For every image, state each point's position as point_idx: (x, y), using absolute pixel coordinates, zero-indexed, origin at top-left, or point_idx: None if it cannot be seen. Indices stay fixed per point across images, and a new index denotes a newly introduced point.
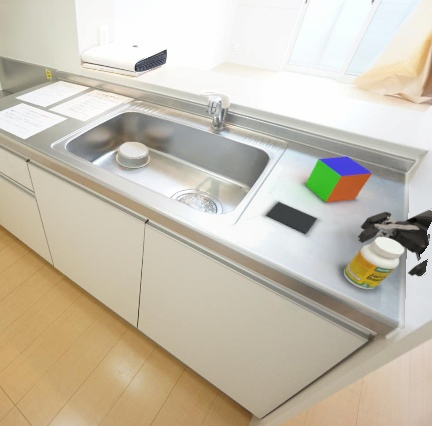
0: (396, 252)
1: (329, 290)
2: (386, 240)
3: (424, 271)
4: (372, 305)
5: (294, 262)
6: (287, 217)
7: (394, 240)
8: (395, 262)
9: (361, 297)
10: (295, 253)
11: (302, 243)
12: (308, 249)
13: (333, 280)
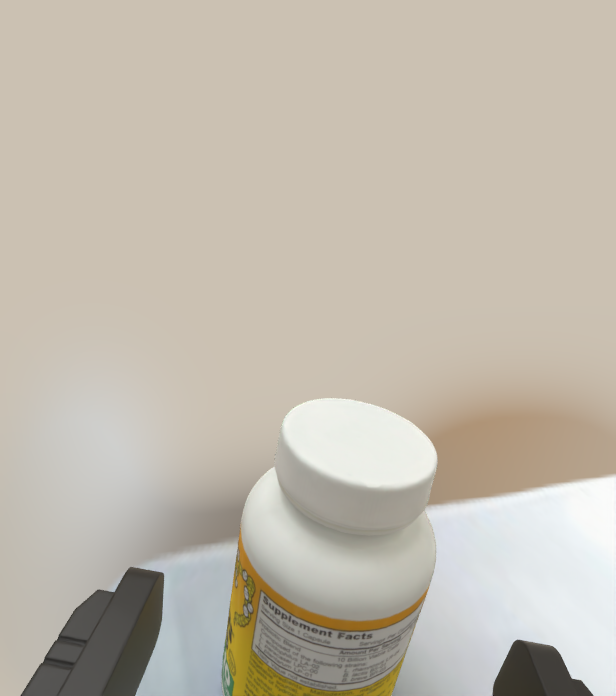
0: (303, 409)
1: None
2: (396, 458)
3: (93, 594)
4: (194, 571)
5: (472, 545)
6: None
7: (377, 484)
8: (264, 485)
9: None
10: (522, 590)
11: (601, 687)
12: None
13: None
